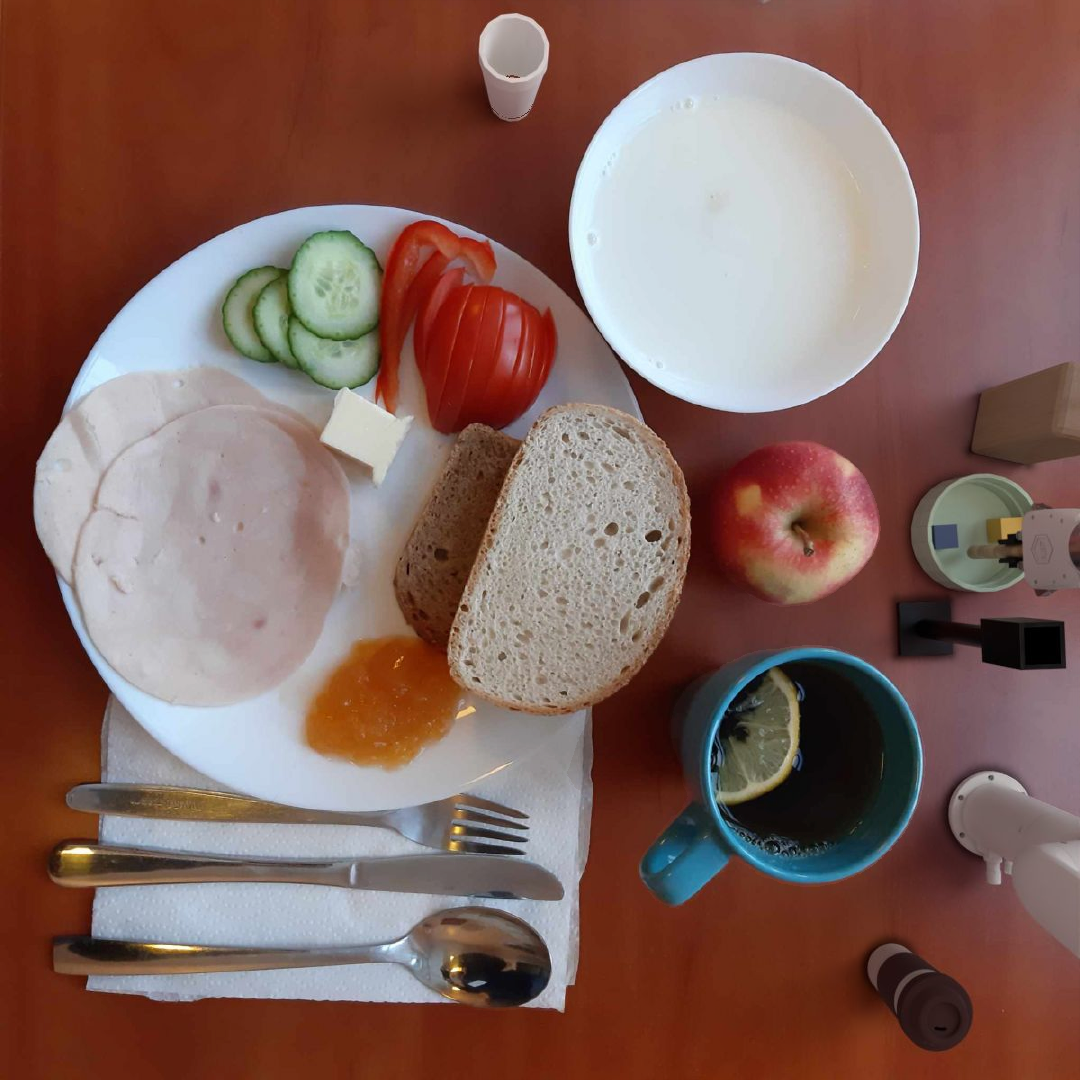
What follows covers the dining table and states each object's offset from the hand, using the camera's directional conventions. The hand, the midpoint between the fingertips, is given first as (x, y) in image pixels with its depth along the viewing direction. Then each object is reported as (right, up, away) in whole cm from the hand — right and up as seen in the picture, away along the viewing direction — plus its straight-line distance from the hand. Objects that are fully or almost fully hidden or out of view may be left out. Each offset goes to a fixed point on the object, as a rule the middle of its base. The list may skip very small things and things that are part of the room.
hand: (1008, 551), depth 118 cm
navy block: (-6, +2, +10) cm, 12 cm away
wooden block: (+6, +19, +12) cm, 23 cm away
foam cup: (-69, +67, +9) cm, 97 cm away
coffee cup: (-13, -62, +9) cm, 64 cm away
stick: (-1, 0, +9) cm, 9 cm away
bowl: (-1, +2, +11) cm, 11 cm away
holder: (-7, -12, +10) cm, 17 cm away
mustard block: (+4, +3, +11) cm, 12 cm away
